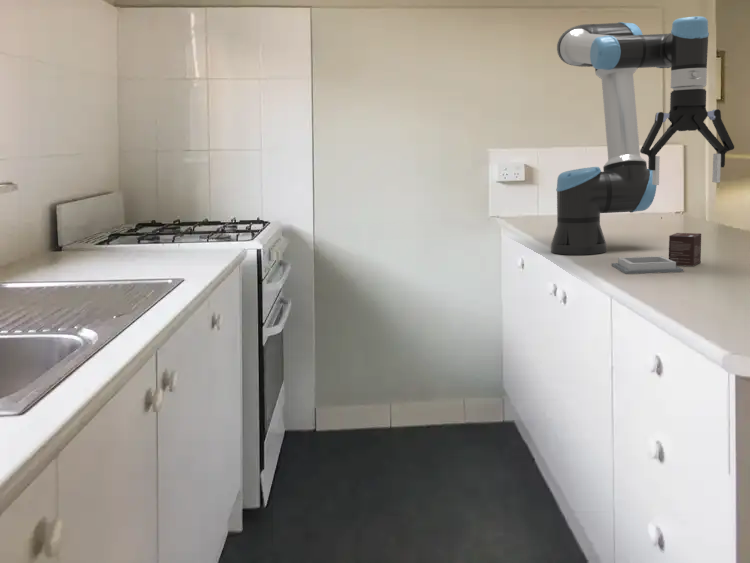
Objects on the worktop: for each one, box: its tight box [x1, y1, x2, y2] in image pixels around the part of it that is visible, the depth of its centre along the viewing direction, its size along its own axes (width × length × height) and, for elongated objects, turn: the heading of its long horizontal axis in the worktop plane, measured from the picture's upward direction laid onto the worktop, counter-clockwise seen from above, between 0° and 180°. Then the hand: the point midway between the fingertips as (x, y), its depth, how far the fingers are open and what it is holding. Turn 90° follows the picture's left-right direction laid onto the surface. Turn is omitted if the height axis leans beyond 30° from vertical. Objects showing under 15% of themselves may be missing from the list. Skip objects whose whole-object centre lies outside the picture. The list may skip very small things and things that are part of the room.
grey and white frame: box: [611, 255, 684, 275], centre depth 182 cm, size 13×13×2 cm
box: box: [668, 232, 702, 267], centre depth 186 cm, size 6×6×7 cm
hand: (685, 183), depth 177 cm, fingers open, 13 cm apart
